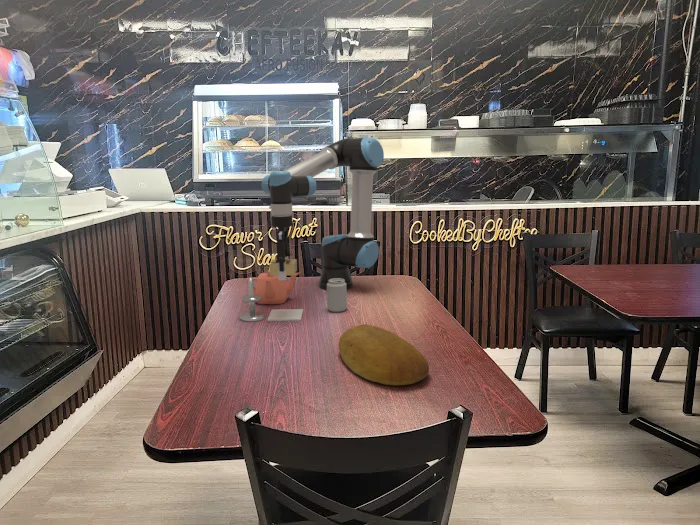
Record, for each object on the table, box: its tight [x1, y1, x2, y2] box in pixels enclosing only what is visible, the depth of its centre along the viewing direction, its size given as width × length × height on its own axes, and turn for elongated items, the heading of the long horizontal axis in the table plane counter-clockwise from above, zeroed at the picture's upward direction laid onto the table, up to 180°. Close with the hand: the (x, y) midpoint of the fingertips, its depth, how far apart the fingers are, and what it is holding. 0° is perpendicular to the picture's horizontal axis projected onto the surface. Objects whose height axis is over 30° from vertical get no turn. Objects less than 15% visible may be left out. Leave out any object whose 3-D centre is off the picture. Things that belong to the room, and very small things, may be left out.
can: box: [326, 278, 348, 313], centre depth 200 cm, size 8×8×12 cm
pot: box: [245, 270, 301, 305], centre depth 215 cm, size 18×17×12 cm
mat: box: [267, 308, 304, 322], centre depth 196 cm, size 12×12×1 cm
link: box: [268, 258, 298, 276], centre depth 192 cm, size 9×9×4 cm
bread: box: [338, 323, 430, 386], centre depth 149 cm, size 18×35×10 cm, turn 30°
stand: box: [239, 277, 266, 323], centre depth 192 cm, size 9×9×15 cm
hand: (283, 276), depth 192 cm, fingers closed on link, 9 cm apart
